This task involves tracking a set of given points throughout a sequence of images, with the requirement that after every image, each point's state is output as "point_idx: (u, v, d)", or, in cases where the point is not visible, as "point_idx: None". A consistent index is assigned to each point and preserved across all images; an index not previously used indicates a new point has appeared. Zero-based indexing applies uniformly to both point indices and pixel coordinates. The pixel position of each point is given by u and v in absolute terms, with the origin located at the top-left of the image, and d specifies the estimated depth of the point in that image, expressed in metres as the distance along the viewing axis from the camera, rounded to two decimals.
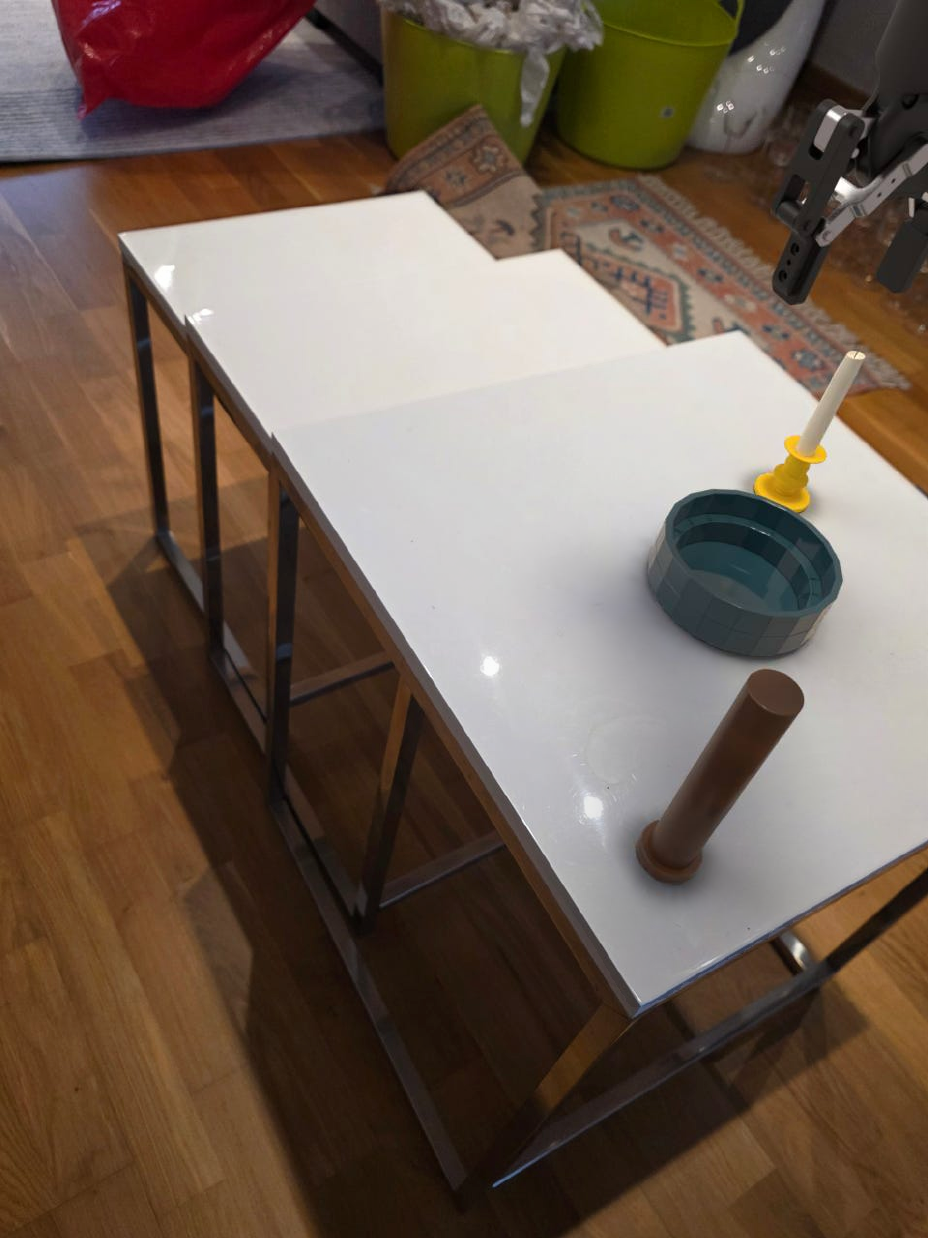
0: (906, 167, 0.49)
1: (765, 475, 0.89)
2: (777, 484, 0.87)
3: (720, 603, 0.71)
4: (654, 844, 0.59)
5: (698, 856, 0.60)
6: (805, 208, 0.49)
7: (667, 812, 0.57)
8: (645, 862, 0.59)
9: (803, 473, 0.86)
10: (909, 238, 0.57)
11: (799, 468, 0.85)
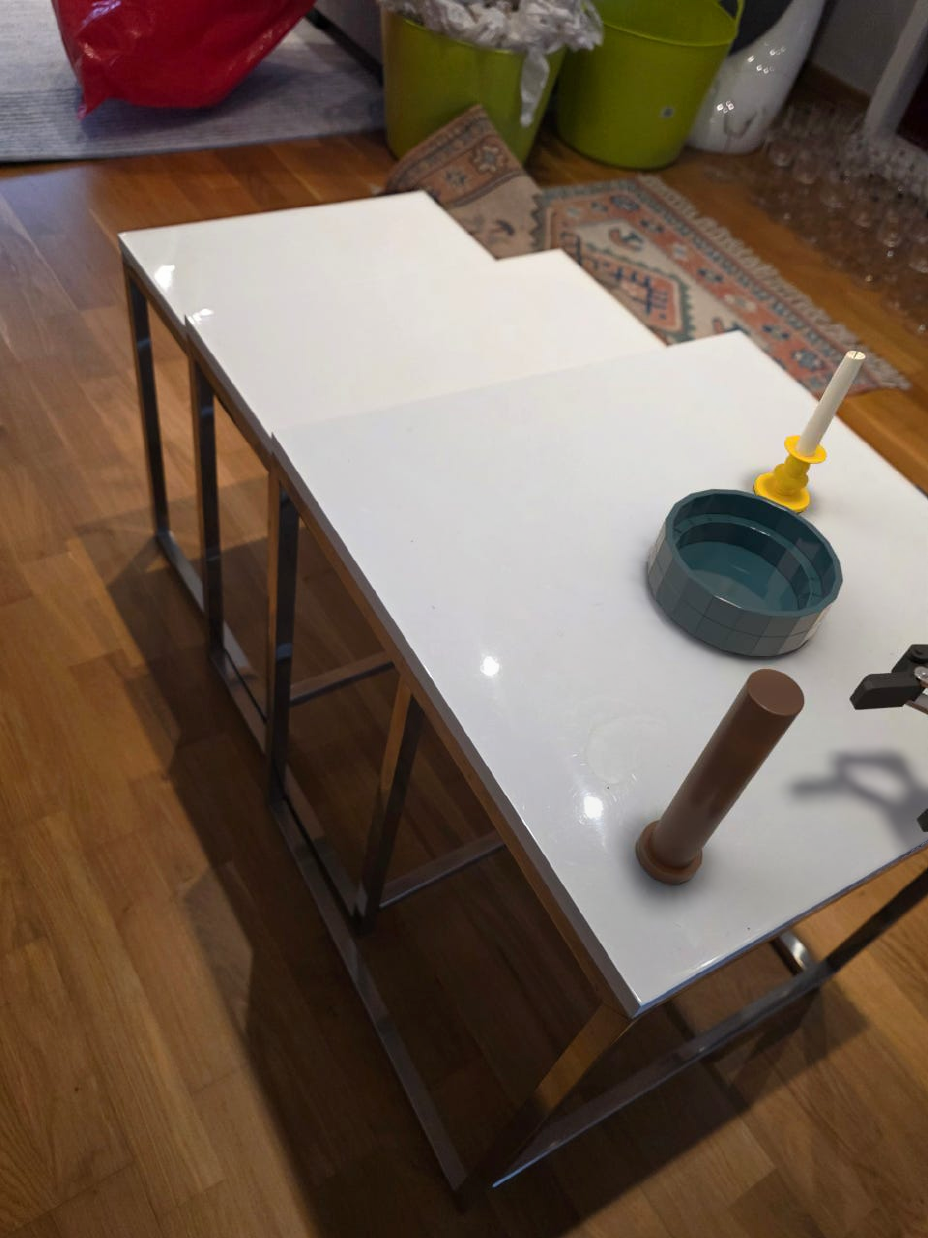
0: None
1: (765, 475, 0.89)
2: (777, 484, 0.87)
3: (720, 603, 0.71)
4: (654, 844, 0.59)
5: (698, 856, 0.60)
6: None
7: (667, 812, 0.57)
8: (645, 862, 0.59)
9: (803, 473, 0.86)
10: None
11: (799, 468, 0.85)
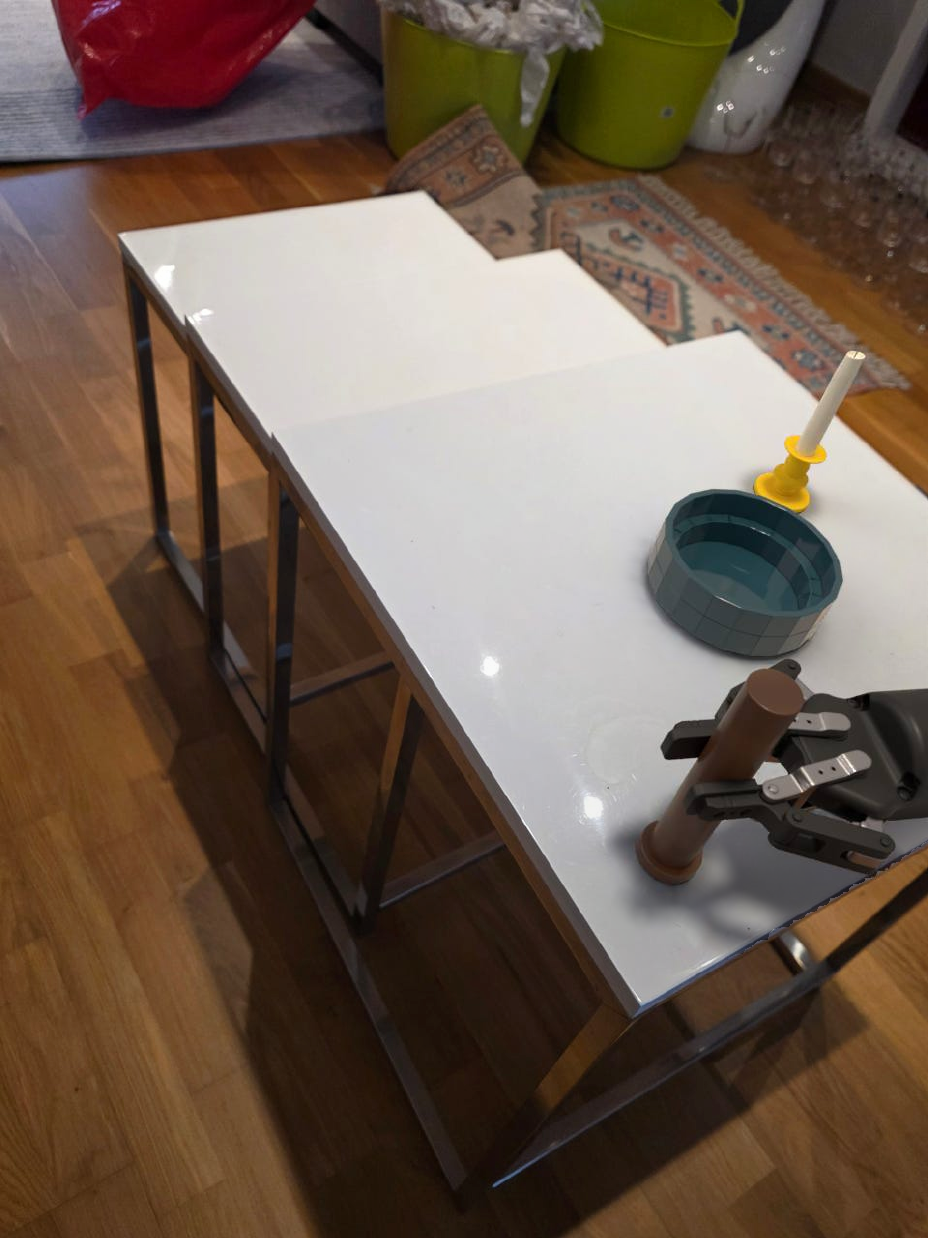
0: (823, 712, 0.55)
1: (765, 475, 0.89)
2: (777, 484, 0.87)
3: (720, 603, 0.71)
4: (654, 844, 0.59)
5: (698, 856, 0.60)
6: None
7: (667, 812, 0.57)
8: (645, 862, 0.59)
9: (803, 473, 0.86)
10: None
11: (799, 468, 0.85)
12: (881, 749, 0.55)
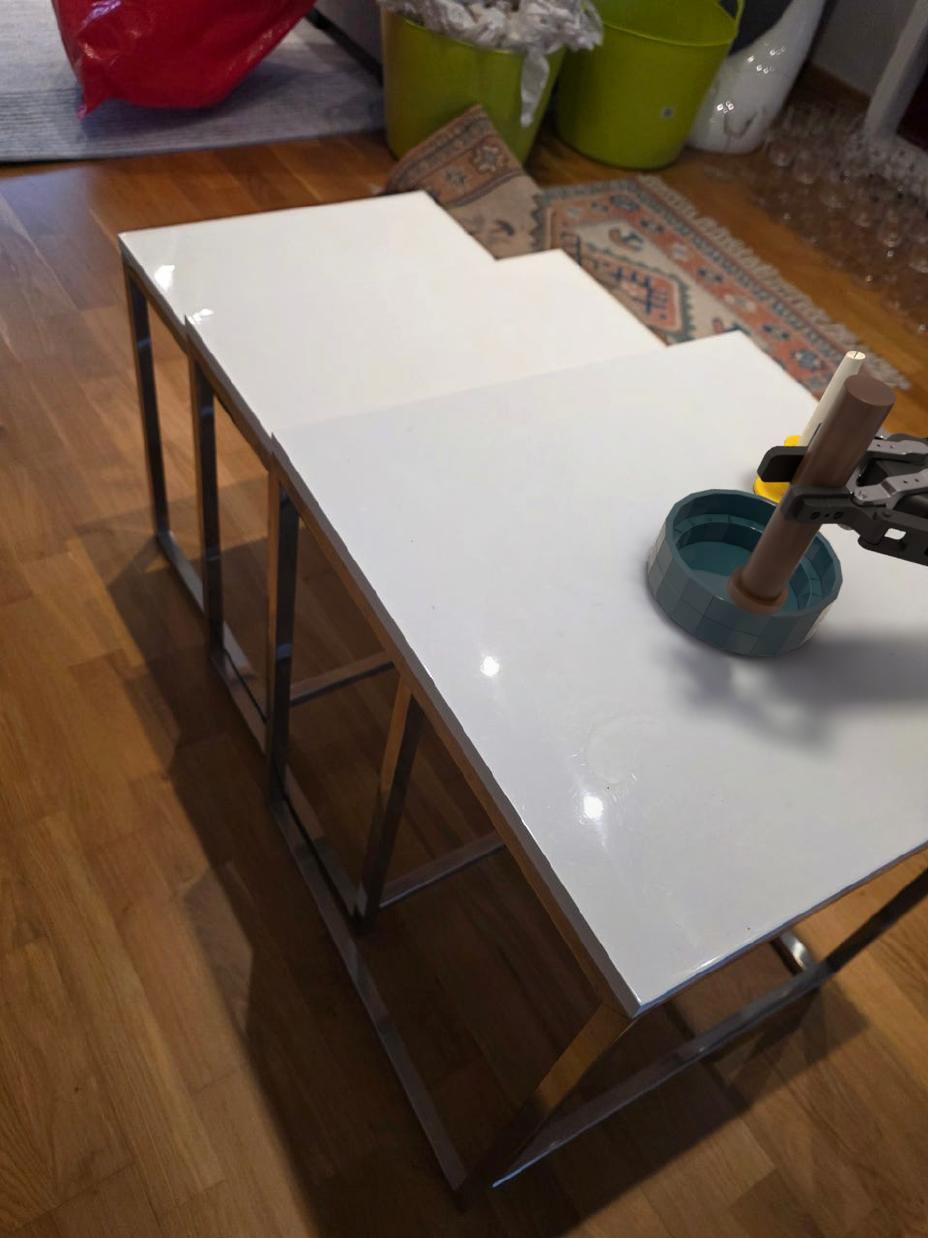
0: (904, 440, 0.61)
1: None
2: (777, 484, 0.87)
3: (720, 603, 0.71)
4: (745, 578, 0.65)
5: (784, 592, 0.66)
6: None
7: (759, 542, 0.63)
8: (736, 596, 0.65)
9: None
10: None
11: None
12: None
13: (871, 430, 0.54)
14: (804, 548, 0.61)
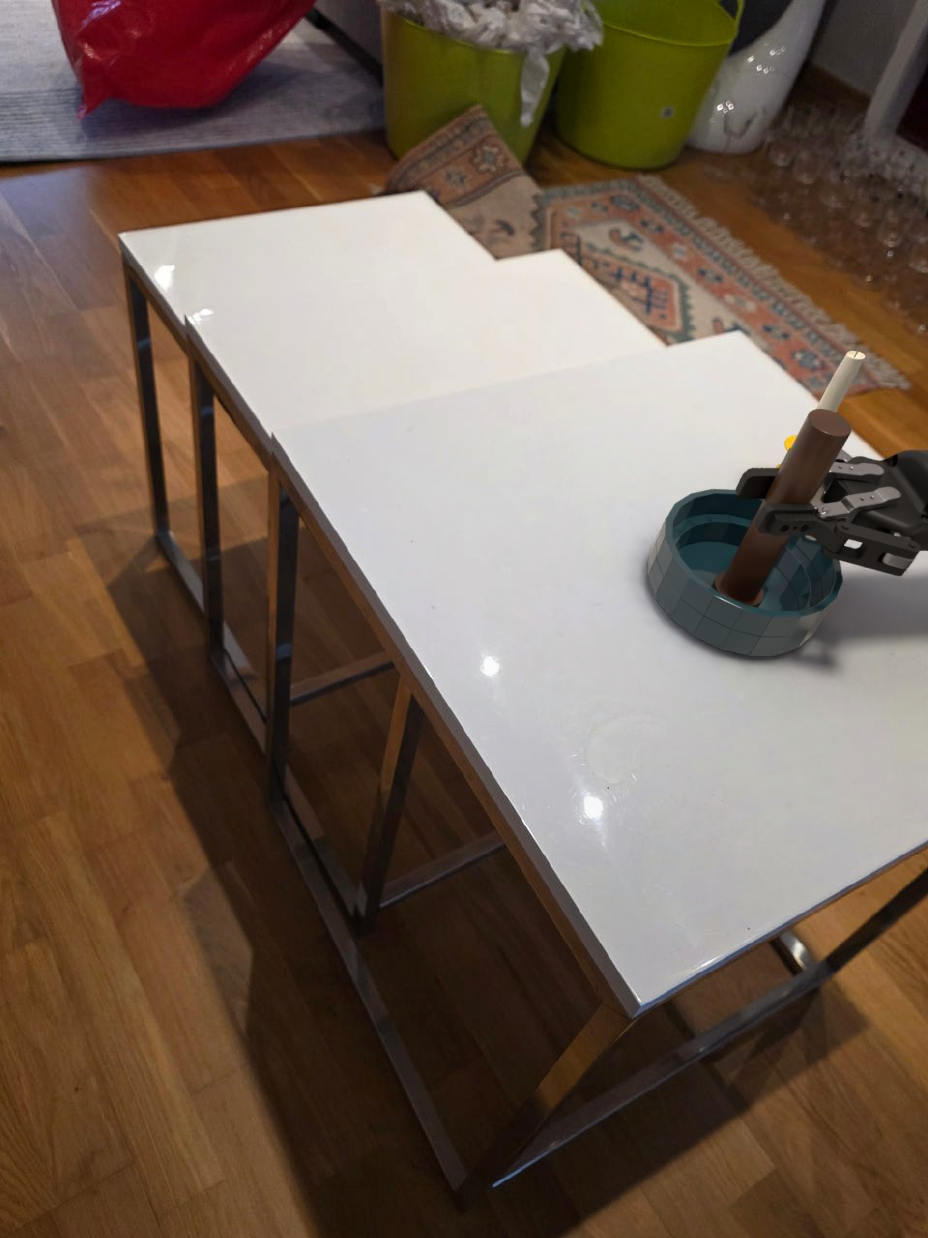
0: (862, 463, 0.71)
1: None
2: None
3: (720, 603, 0.71)
4: (727, 581, 0.74)
5: (760, 594, 0.75)
6: None
7: (738, 550, 0.73)
8: None
9: None
10: None
11: None
12: (908, 491, 0.70)
13: (831, 456, 0.64)
14: (776, 556, 0.71)
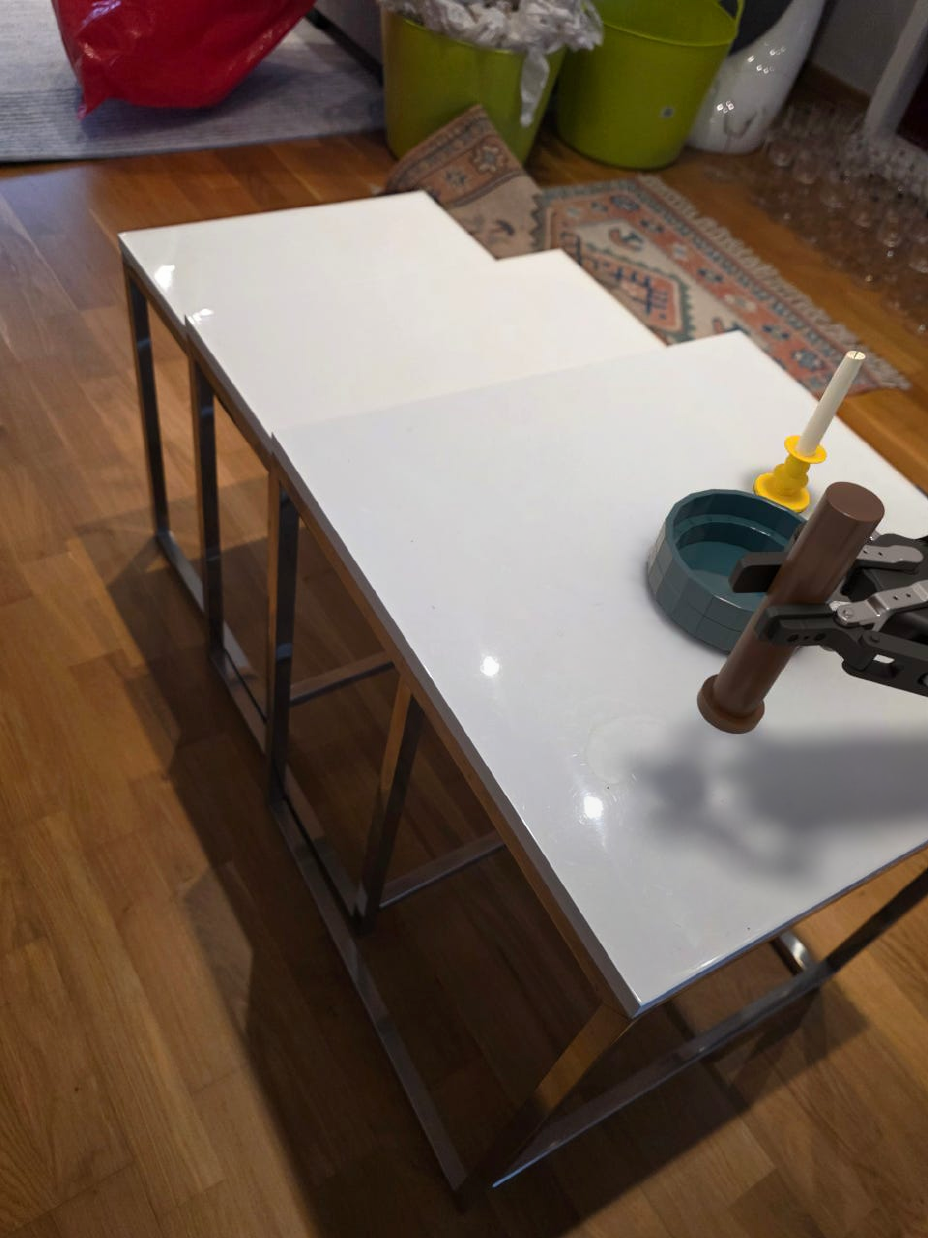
0: (894, 545, 0.54)
1: (765, 475, 0.89)
2: (777, 484, 0.87)
3: (720, 603, 0.71)
4: (717, 692, 0.58)
5: (760, 707, 0.59)
6: None
7: (731, 655, 0.56)
8: (706, 712, 0.58)
9: (803, 473, 0.86)
10: None
11: (799, 468, 0.85)
12: None
13: (856, 546, 0.47)
14: (782, 666, 0.54)
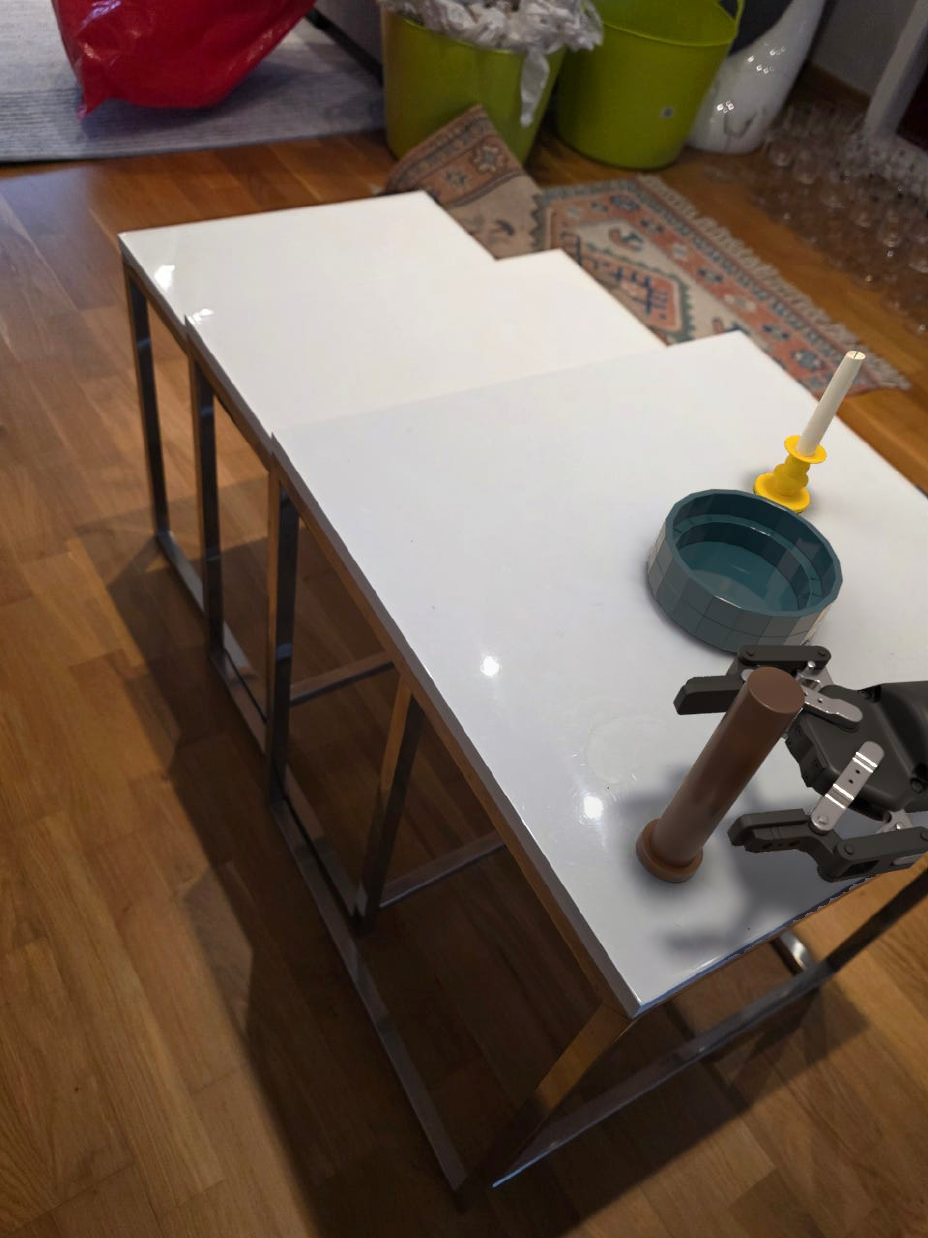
0: (834, 703, 0.55)
1: (765, 475, 0.89)
2: (777, 484, 0.87)
3: (720, 603, 0.71)
4: (655, 842, 0.59)
5: (699, 854, 0.60)
6: None
7: (668, 810, 0.57)
8: (645, 860, 0.60)
9: (803, 473, 0.86)
10: None
11: (799, 468, 0.85)
12: (893, 741, 0.54)
13: (777, 732, 0.49)
14: (714, 825, 0.56)
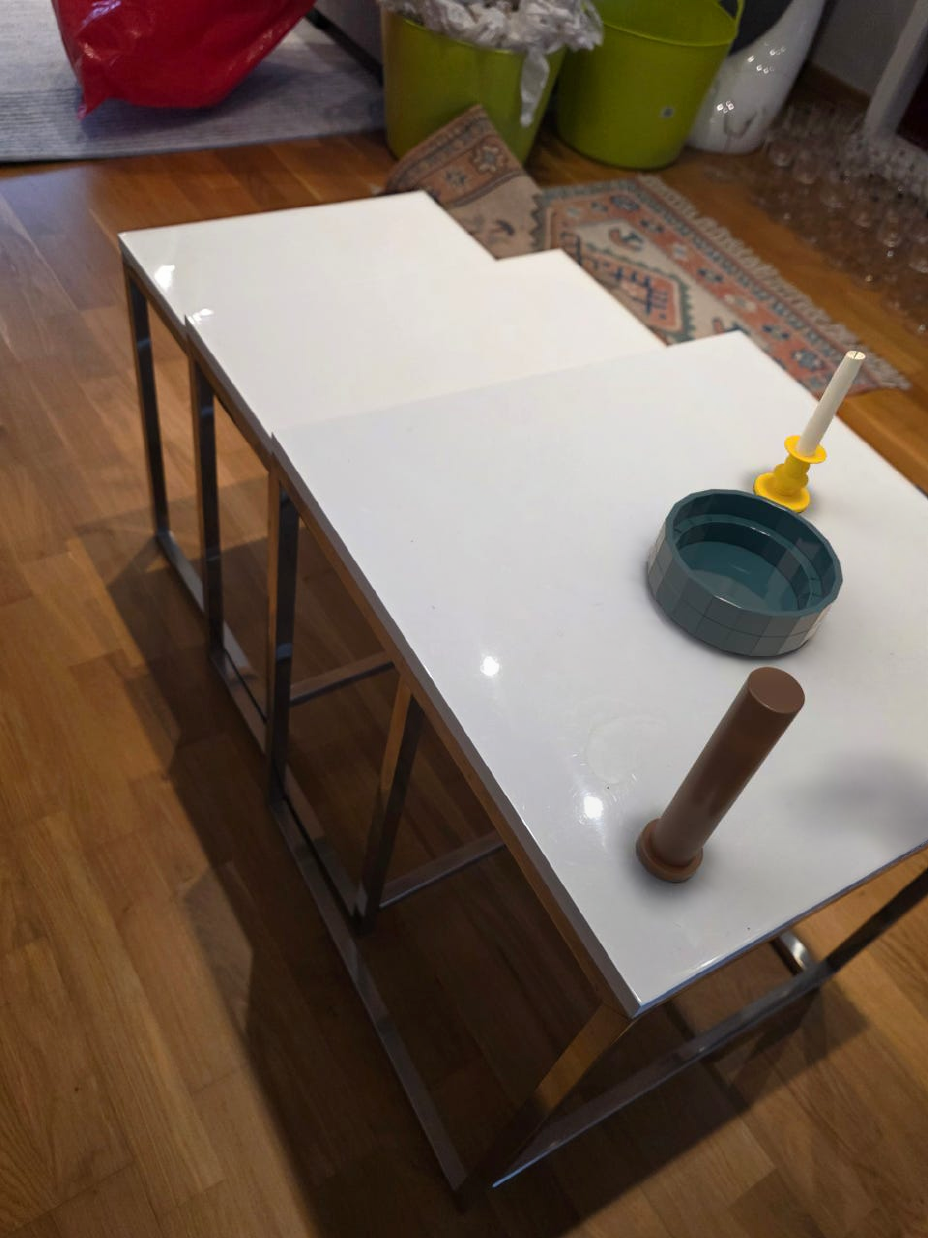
0: None
1: (765, 475, 0.89)
2: (777, 484, 0.87)
3: (720, 603, 0.71)
4: (655, 842, 0.59)
5: (699, 854, 0.60)
6: None
7: (668, 810, 0.57)
8: (645, 860, 0.60)
9: (803, 473, 0.86)
10: None
11: (799, 468, 0.85)
12: None
13: (777, 732, 0.49)
14: (714, 825, 0.56)
